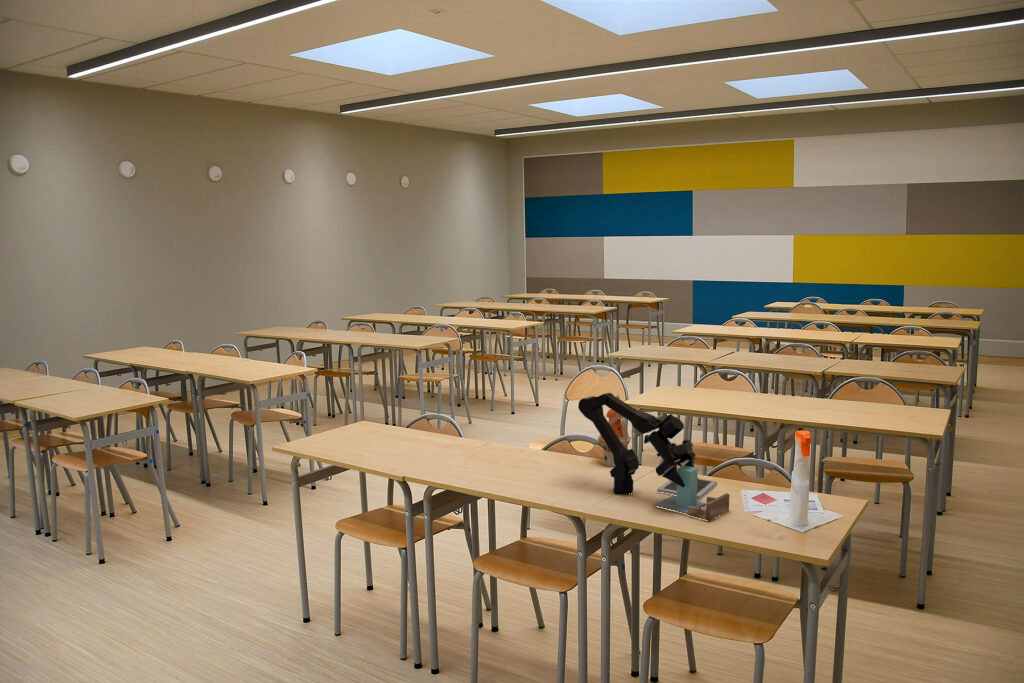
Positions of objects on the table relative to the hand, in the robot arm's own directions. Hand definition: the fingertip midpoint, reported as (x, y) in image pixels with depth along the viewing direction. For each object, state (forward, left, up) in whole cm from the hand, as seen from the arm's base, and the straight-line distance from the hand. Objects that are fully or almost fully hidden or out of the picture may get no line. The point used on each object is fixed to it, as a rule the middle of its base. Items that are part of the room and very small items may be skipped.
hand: (690, 483), depth 265 cm
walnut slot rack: (+5, -4, -9) cm, 11 cm away
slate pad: (-3, +3, -9) cm, 10 cm away
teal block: (-1, +1, -8) cm, 8 cm away
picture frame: (+4, +22, -10) cm, 25 cm away
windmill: (-21, +53, -9) cm, 57 cm away
